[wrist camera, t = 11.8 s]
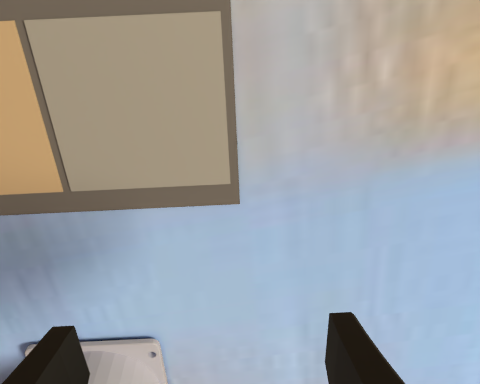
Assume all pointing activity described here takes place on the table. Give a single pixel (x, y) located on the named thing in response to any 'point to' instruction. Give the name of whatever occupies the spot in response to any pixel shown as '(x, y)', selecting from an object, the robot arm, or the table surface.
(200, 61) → the game board
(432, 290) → the table surface
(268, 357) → the table surface
